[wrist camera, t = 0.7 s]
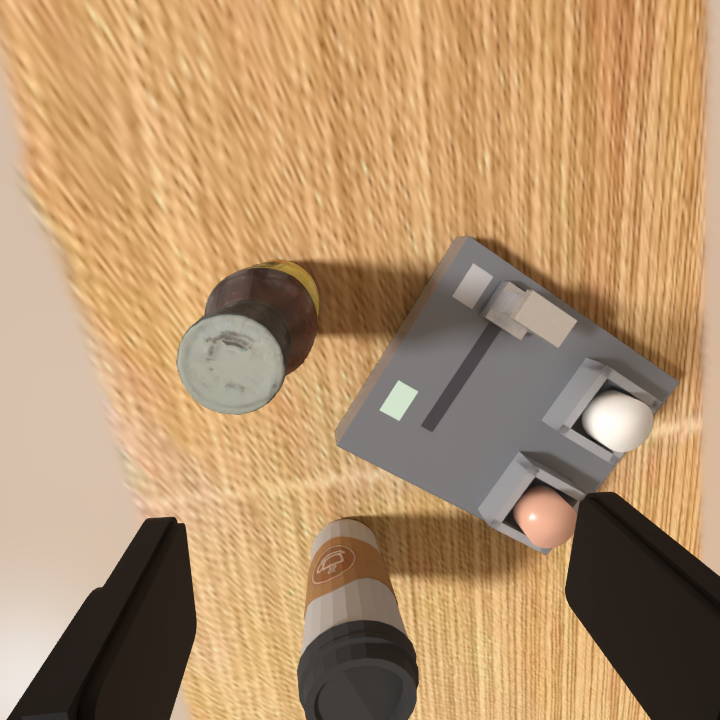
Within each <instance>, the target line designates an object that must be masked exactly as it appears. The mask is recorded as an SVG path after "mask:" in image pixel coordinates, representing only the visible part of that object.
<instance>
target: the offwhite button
mask: <svg viewBox="0 0 720 720" xmlns="http://www.w3.org/2000/svg"><path fill="white" fill-rule="evenodd" d="M653 421H654V419H653V414H652V411H651V409H650V408H649V407H648V406H647V405H646V404H645V403H643V402H641V401H639V400H637V399H634V398H632V397H630V396H628V395H625V394H623V393H621V392H618V391H615V390H608V391H604V392H601V393H599V394H597V395H595V396H594V397H593V398H592V400H591V401H590V402H589V404H588V405H587V407H586V408H585V409H584V411H583V414H582V425H583V428H584V430H585V432H586V433H587V434H588V435H590V436H591V437H592V438H594V439H596V440H597V441H599V442H600V443H602V444H603V445H605V446H606V447H608V448H609V449H611V450H613V451H616V452H627V451H631V450H633V449H635V448H637V447H639V446H640V445H641V444H642V443H644V442H645V440H646V439H647V438H648V436H649V435H650V433H651V431H652V428H653Z"/></svg>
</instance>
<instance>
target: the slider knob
mask: <svg viewBox="0 0 720 720" xmlns="http://www.w3.org/2000/svg"><path fill="white" fill-rule="evenodd" d="M480 316H482V317H483V318H485V319H486V320H488V321H489V322H491V323H492V324H494V325H496V326H497V327H499V328H500V329H502V330H503V331H505V332H506V333H508V334H509V335H511V336H513V337H514V338H517V339H519V340H521V339H522V338H523V336H524V335H525V333H526V332H529V333H532V334H535V335H536V336H538V337H539V338H541V339H542V340H544V341H545V342H547V343H549V344H550V345H552V346H554V347H557V348H559V346H560V345H561V344H562V342H563V341H564V339H565V338H566V337H567V335H568V334H569V332H570V331H571V329H572V328H573V327H574V325H575V324H576V322H577V320H575V319H574V318H573V317H571V316H570V315H568V314H567V313H565V312H564V311H562V310H561V309H559V308H558V307H557V306H555V305H554V304H552V303H551V302H549V301H548V300H546V299H545V298H543V297H542V296H541V295H539V294H538V293H536V292H535V291H533V290H526V292H524V291H523V290H521V289H520V288H518V287H517V286H515V285H514V284H512V283H511V282H509V281H503V280H502V282H501V283H500V285H499V286H498V288H497V289H496V291H495V292H494V294H493V295H492V297H491V298H490V300H489V301H488V303H487V304H486V306H485V307H484V309H483V311H482V312H481V314H480Z"/></svg>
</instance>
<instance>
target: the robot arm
mask: <svg viewBox="0 0 720 720" xmlns="http://www.w3.org/2000/svg"><path fill="white" fill-rule="evenodd" d="M565 594H566V599H567V601H568V604H569V606H570V607H571V609H572V610H573V612H574V613H575V614H576V616H577V617H578V618H579V620H580V621H581V623H582V624H583V625H584V627H585V628H586V630H587V631H588V632H589V634H590V635H591V637H592V638H593V639H594V641H595V642H596V644H597V645H598V646H599V648H600V649H601V650H602V652H603V653H604V655H605V656H606V657H607V659H608V660H609V662H610V663H611V664H612V666H613V667H614V669H615V670H616V671H617V673H618V674H619V676H620V677H621V678H622V680H623V681H624V682H625V684H626V685H627V687H628V688H629V689H630V691H631V692H632V694H633V695H634V696H635V698H636V699H637V701H638V702H639V703H640V705H641V706H642V708H643V709H644V710H645V712H646V713H647V715H648V716H649V717H650V719H651V720H720V576H718V575H717V574H716V573H715V572H713V571H712V570H711V569H710V568H709V567H707V566H706V565H705V564H704V563H702V562H701V561H700V560H699V559H697V558H696V557H695V556H694V555H692V554H691V553H690V552H689V551H687V550H686V549H685V548H684V547H682V546H681V545H680V544H679V543H677V542H676V541H675V540H674V539H672V538H671V537H670V536H669V535H667V534H666V533H665V532H664V531H662V530H661V529H660V528H659V527H657V526H656V525H655V524H654V523H652V522H651V521H650V520H649V519H648V518H646V517H645V516H644V515H643V514H641V513H640V512H639V511H638V510H636V509H635V508H634V507H633V506H631V505H630V504H629V503H628V502H626V501H625V500H624V499H623V498H621V497H620V496H619V495H618V494H616V493H614V492H597V493H589V494H587V495H586V496H585V498H584V499H583V500H581V501H580V503H579V507H578V513H577V519H576V525H575V531H574V538H573V544H572V550H571V556H570V562H569V568H568V574H567V580H566V587H565ZM196 626H197V620H196V611H195V602H194V593H193V585H192V576H191V568H190V559H189V551H188V542H187V533H186V527H185V524H184V523H177V520H176V518H175V517H162V518H148V519H146V520H145V521H144V523H143V524H142V526H141V527H140V529H139V531H138V532H137V534H136V535H135V537H134V538H133V540H132V542H131V543H130V545H129V546H128V548H127V550H126V551H125V553H124V554H123V556H122V558H121V559H120V561H119V562H118V564H117V566H116V567H115V569H114V570H113V572H112V573H111V575H110V577H109V578H108V580H107V581H106V583H105V584H104V586H103V587H100V588H96V589H95V590H93V591H92V592H91V593H90V594H89V596H88V597H87V598H86V600H85V601H84V603H83V604H82V606H81V607H80V609H79V610H78V612H77V613H76V615H75V616H74V618H73V620H72V621H71V623H70V624H69V626H68V627H67V629H66V630H65V632H64V633H63V635H62V636H61V638H60V639H59V641H58V642H57V644H56V645H55V647H54V648H53V650H52V652H51V653H50V655H49V656H48V658H47V659H46V661H45V662H44V664H43V665H42V667H41V668H40V670H39V671H38V673H37V674H36V676H35V678H34V679H33V680H32V682H31V683H30V685H29V687H28V688H27V689H26V691H25V693H24V694H23V696H22V697H21V699H20V700H19V702H18V703H17V705H16V706H15V708H14V709H13V711H12V712H11V714H10V715H9V717H8V718H7V720H170V717H171V713H172V710H173V707H174V704H175V701H176V697H177V694H178V691H179V688H180V684H181V681H182V678H183V675H184V672H185V668H186V665H187V662H188V659H189V655H190V652H191V649H192V646H193V642H194V639H195V634H196Z"/></svg>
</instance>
